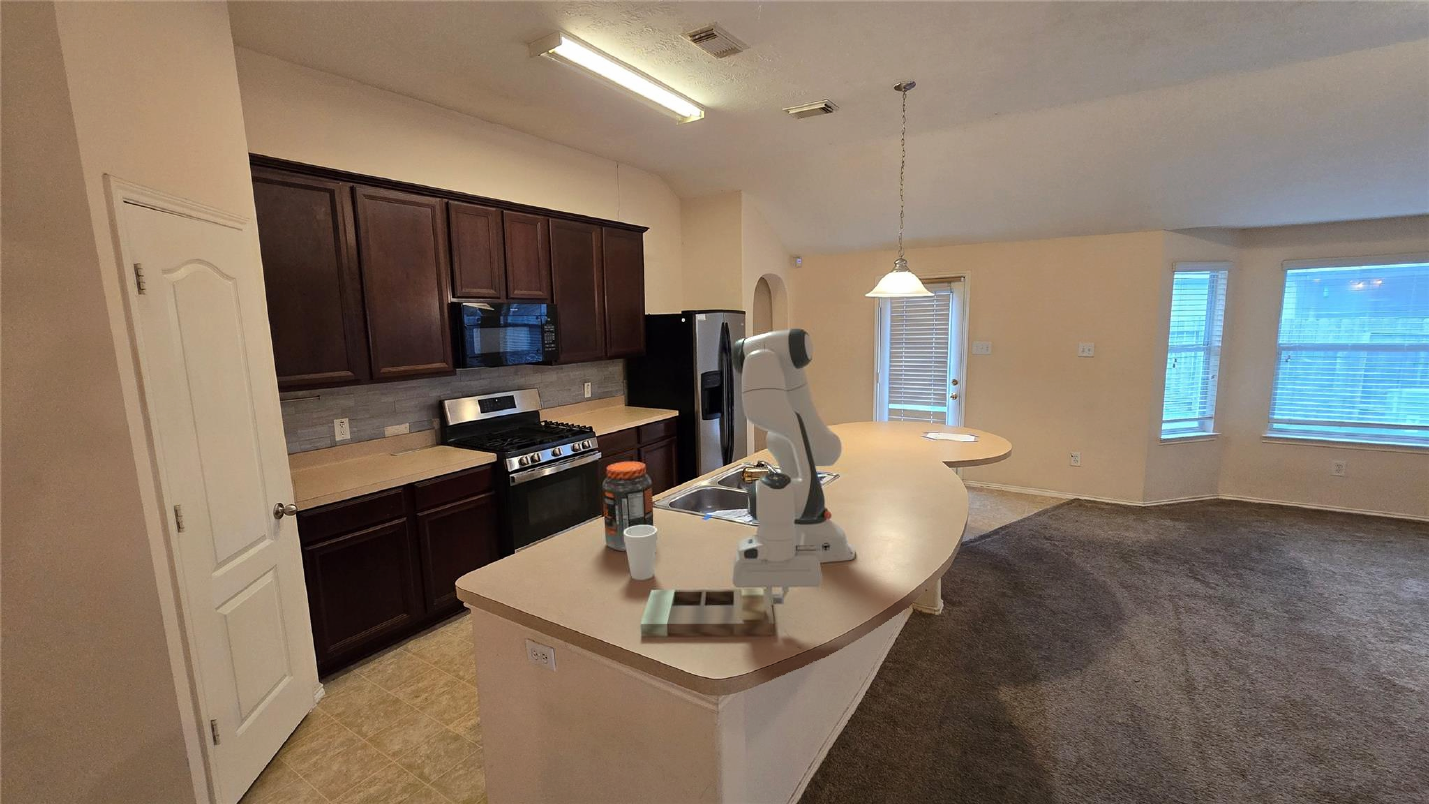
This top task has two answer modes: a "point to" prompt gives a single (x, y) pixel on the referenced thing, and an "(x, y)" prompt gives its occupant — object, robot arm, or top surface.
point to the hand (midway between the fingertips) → (777, 603)
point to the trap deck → (702, 614)
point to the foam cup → (641, 550)
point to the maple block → (753, 604)
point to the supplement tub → (626, 501)
